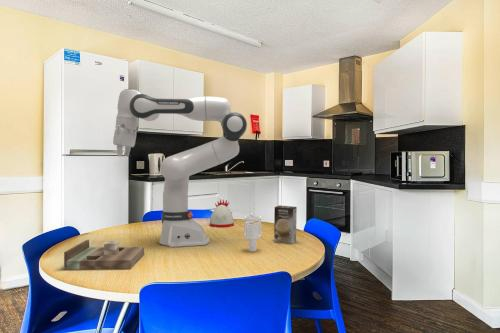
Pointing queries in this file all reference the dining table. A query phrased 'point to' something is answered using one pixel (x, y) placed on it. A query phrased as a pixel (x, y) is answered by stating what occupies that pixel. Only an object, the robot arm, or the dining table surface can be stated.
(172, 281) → the dining table surface
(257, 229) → the clear glass tall piece
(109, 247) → the cube
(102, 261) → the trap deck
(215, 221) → the kitchen timer
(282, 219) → the coffee box
